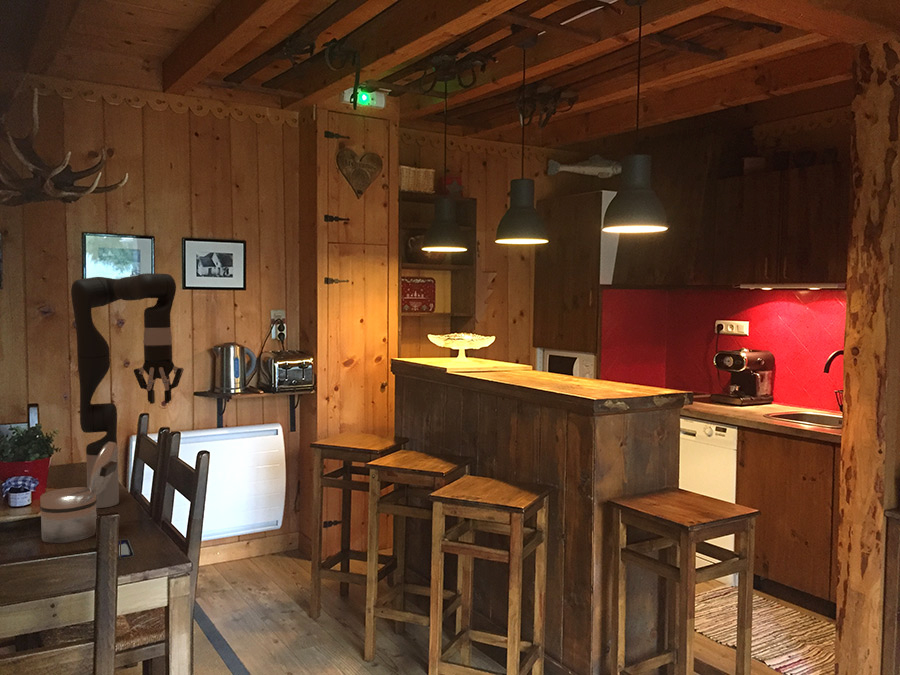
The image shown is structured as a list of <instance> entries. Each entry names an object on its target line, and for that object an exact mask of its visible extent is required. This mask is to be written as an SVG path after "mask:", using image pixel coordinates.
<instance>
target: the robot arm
mask: <svg viewBox="0 0 900 675" xmlns="http://www.w3.org/2000/svg"><path fill="white" fill-rule="evenodd" d="M176 290H177V284H176V281H175V279H174V277H173V276H172V275H171V274H168V273H152V272H151V273H141V274H140V273H139V274H138V275H131V276H126V277H121V278H110V277H106V276H105V277H104V276H93V277H87V278H79V279H75V281H73V282H72V285H71V290H70V295H71V303H72V309H73V310H72V311H73V316H74V317H73V318H74V323H75V330H76V331H75V332H76V347H77V348H76V353H77V367H78V379H79V423H80V429H81V431H82V432H83V433H86V434H87V433H89V434H90V433H91V434H92V433H104V432H105V433H106V434H105V435H104V436H103V437H101V438H99V439H98V440H95V441H92V442H91V443H88V444H87V445H86V447H85V452H86V453H85V454H86V455H85V457H86V459H85V460H86V482H87V483H86V484H87V485H86V486H87V487H88V488H90V486H89V485H90V477H91V472H92V469H93V466H94V463H95V461H96V458H97V456H98V454H99V452H100V451H101V449H102V448H103V446H104V445H105V444H106V443H107V442H115V443H116V444H117V445H118V434H117V432H118V409H117V406H116V404H115V403H113V402H112V403H111V402H106V403H91V402H92V399H93V396H94V393H95V391H96V390H97V388H98V387H99V385H100V384H101V382H103V379H104V378H105V377H106V375H107V374H108V372H109V370H110V368H111V353H110V346H109V343H108V342H107V340H106V339H105V337H104V335H102V334H101V332H100V331H99V329H97V327H96V326H95V324H94V321H93V317H92V309H94V308H99V307H105V306H107V305H109V304H112V303H114V302H117V301H120V300H122V301H140V300H145V299H157V300H156V303H155V305H152V306H149V307H148V306H147V307H146V308H145V309H144V311H143V323H144V324H143V326H144V327H143V328H144V329H143V340H142V341H143V342H142V343H143V356H144V357H143V361H144V363H143V365H142V366H141V367H139V368H134V370H133V374H134V376H135V378H136V381H137V383H138V385H139V387H140V389H142V390H143V389H144V390H146V392H147V402H149V404H150V405H152V404H155V403H156V401H155V400H156V398H155V397H156V396H155V394H156V393H155V389H154V388H155V384H156V380H157V379H159V380H162V384H163V388H164V394H163V395H164V404H169V403H170V402H171V401H172V390H173V389H175V388H177V387H179V384H180V381H181V378H182V376H183V373H184V368H183V367H178V366H175V364H174V361H173V335H172V329H171V323H172V322H171V313H172V308H173V304H174V300H175V296H176V292H177V291H176ZM172 372H173V374H174V377H173V379H172V382H171V378H170V377H171V376H170V375H171V373H172ZM145 373H146V374H147V375H148V378H147V381H146V379H145V376H144V374H145ZM118 457H119V456H118V454H117V460H116V462H118V463H117V467H116V470H115V471H114V472H113V473H112V476H111V478H110V480H109V482H108V484H107V486H106V487H105V489H104V490H103V491H102V492H101V493H100V494H98V495H97V494H96V498H97V503H96V509H103V508H110V507H115V506H116V505H118V504H120V494H119V493H120V492H119V488H120V486H119V461H118V459H119V458H118Z"/></svg>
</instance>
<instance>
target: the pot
mask: <svg viewBox="0 0 900 675" xmlns="http://www.w3.org/2000/svg"><path fill="white" fill-rule="evenodd" d="M39 499H40V500H39V502H40V503H39V504H40V505H39V510H40V521H41V522H40V523H41V525H40V526H41V540H42V541H43V542H45V543H49V544H64V543H65V544H66V543H72V542H77V541H82V540H85V539H88V538H91V537H93V536H95V535H96V534H95V529H96V519H97V516H98V515H97V508H96V503H97V498H96V494H93V493H91V492H90V488H88V487H86V486H85V487H84V486H79V487H78V486H77V487H76V486H75V487H66V488H64V487H63V488H58V489H54V490H49V491H46V492H43V493H42V494H41V495H40V496H39Z"/></svg>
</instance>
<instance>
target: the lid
mask: <svg viewBox="0 0 900 675" xmlns="http://www.w3.org/2000/svg"><path fill="white" fill-rule="evenodd" d="M118 452H119V450H118V443H117V444H116V443H115V442H107V443H106V444H105V445H104V446H103V448H102V449H101V451H100V452H99V454H98V456H97V458H96V461H95V463H94V466H93V469H92V472H91V477H90V485H89V486H90V492H91V493H93V494H97V495H98V494H100V493H101V492H102V491H103V490H104V489H105V487H106V486H107V484H108V482H109V480H110V478H111V476H112V473H113V472H114V471H115V470H116V467H117V463H118V464H119V461H118V462H116V460H117V455H118Z"/></svg>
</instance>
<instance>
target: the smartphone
mask: <svg viewBox="0 0 900 675" xmlns="http://www.w3.org/2000/svg"><path fill="white" fill-rule="evenodd" d="M118 540H119V560H118V561H120V540H121V558H126V557H131V556H134V557H135V552H134V550H133V548H132V545H131V543H130V540H129V539H128V538H126V539H125V538H124V539H118Z"/></svg>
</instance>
